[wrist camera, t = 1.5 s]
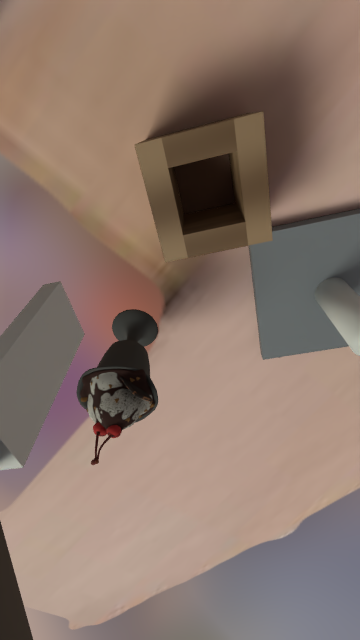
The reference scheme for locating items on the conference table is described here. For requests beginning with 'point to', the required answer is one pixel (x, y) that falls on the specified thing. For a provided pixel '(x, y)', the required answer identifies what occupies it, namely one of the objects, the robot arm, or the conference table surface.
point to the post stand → (308, 286)
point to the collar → (216, 223)
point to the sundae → (121, 379)
